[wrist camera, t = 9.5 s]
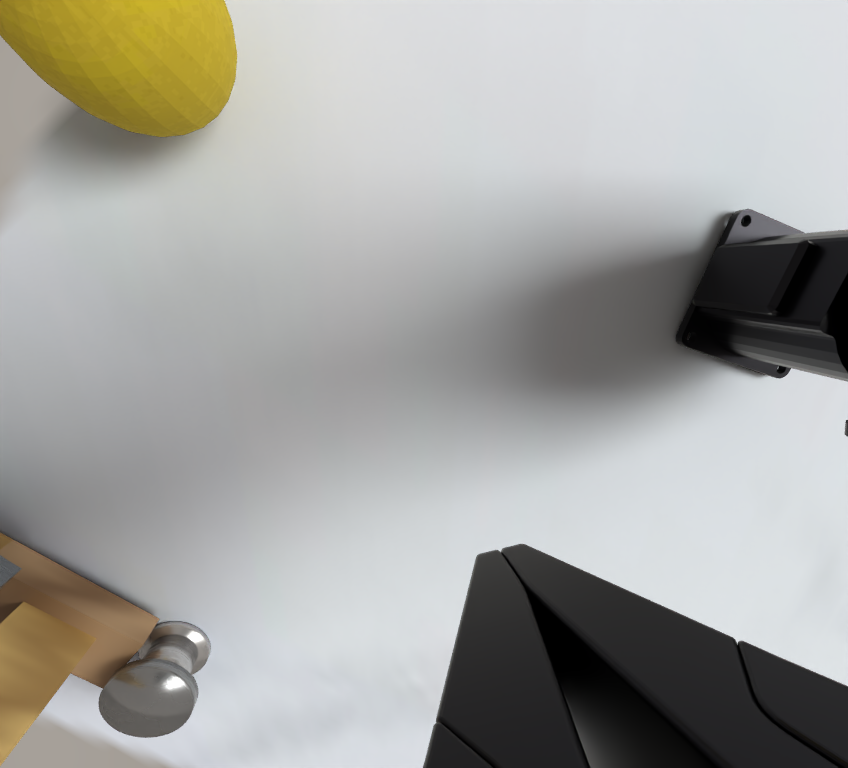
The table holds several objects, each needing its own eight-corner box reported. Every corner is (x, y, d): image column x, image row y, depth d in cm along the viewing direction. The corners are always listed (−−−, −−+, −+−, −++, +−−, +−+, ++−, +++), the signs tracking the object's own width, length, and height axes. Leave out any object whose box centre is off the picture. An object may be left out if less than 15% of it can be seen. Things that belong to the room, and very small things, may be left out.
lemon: (190, 193, 16) (29, 126, 9) (70, 61, 15) (-252, -160, 7) (295, 98, 16) (221, -61, 8) (182, -49, 14) (-36, -408, 7)
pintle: (223, 623, 22) (200, 677, 19) (208, 681, 23) (184, 741, 20) (141, 611, 21) (105, 664, 18) (129, 671, 22) (92, 732, 19)
